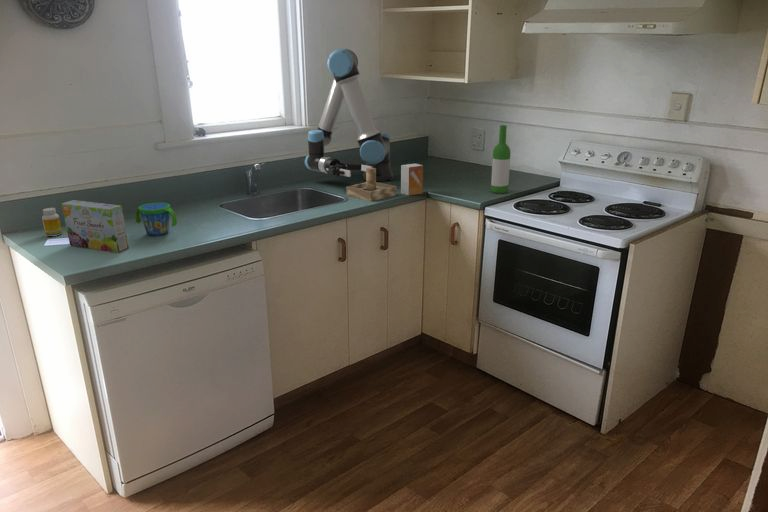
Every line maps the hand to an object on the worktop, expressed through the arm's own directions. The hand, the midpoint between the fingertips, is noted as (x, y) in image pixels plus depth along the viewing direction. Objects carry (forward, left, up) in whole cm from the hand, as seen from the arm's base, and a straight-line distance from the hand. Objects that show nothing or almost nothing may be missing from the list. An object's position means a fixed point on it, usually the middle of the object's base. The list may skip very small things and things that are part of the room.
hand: (361, 171), depth 267 cm
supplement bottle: (+121, -31, -10) cm, 125 cm away
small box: (-15, +18, -10) cm, 25 cm away
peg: (0, +6, -10) cm, 12 cm away
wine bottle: (-45, +45, -10) cm, 64 cm away
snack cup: (+94, -6, -10) cm, 95 cm away
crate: (0, +7, -10) cm, 12 cm away
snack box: (+115, -5, -10) cm, 116 cm away
